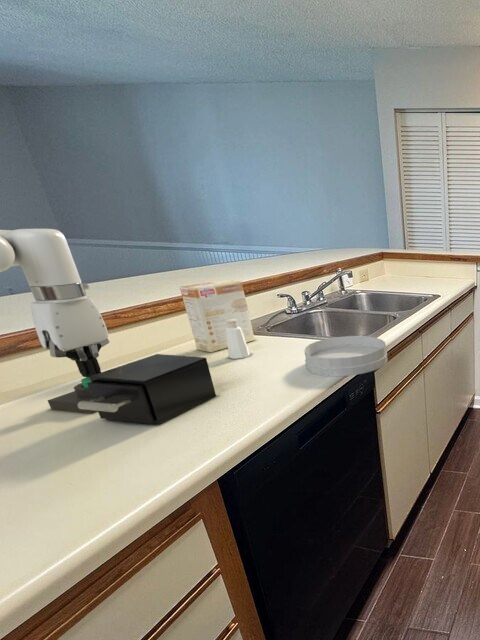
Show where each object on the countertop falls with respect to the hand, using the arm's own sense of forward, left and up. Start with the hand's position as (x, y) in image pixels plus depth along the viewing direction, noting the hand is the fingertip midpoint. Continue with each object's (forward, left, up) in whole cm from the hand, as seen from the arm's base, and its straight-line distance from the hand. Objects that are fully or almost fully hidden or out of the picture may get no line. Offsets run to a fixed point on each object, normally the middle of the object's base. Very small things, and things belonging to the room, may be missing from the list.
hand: (92, 375), depth 93 cm
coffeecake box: (-5, +43, -6) cm, 44 cm away
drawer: (+17, -5, -5) cm, 18 cm away
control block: (0, 0, -6) cm, 6 cm away
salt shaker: (+7, +34, -6) cm, 35 cm away
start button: (0, 0, -2) cm, 2 cm away
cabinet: (+17, -1, -6) cm, 18 cm away
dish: (+41, +35, -6) cm, 54 cm away
